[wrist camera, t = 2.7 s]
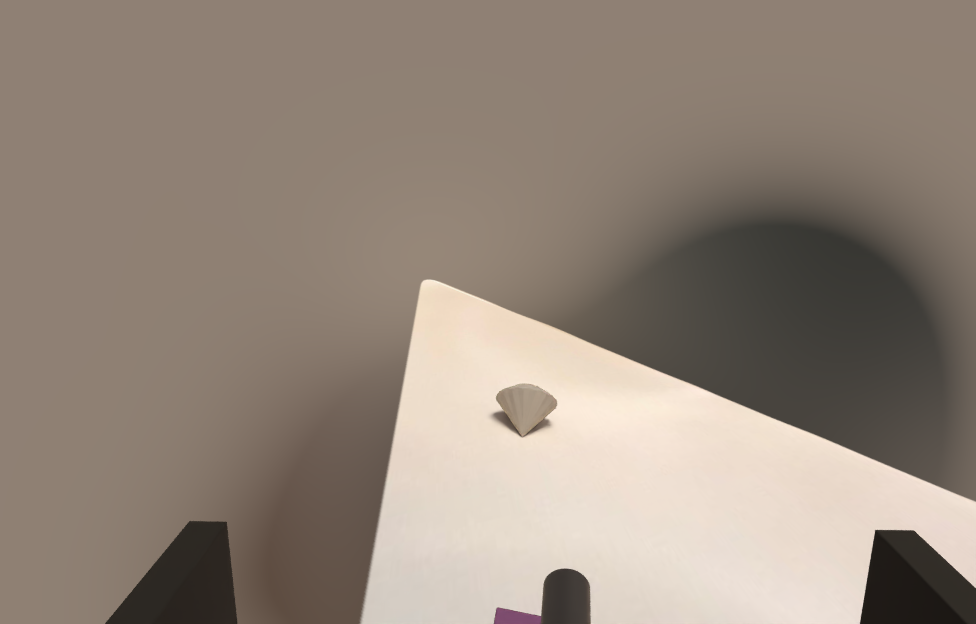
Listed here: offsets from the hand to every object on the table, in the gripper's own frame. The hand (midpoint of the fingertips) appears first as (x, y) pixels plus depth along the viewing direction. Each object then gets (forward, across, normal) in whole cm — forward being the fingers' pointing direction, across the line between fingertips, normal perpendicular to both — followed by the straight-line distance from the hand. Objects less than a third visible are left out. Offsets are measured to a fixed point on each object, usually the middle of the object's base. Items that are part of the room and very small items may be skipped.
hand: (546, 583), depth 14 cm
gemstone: (+50, +2, -19) cm, 54 cm away
